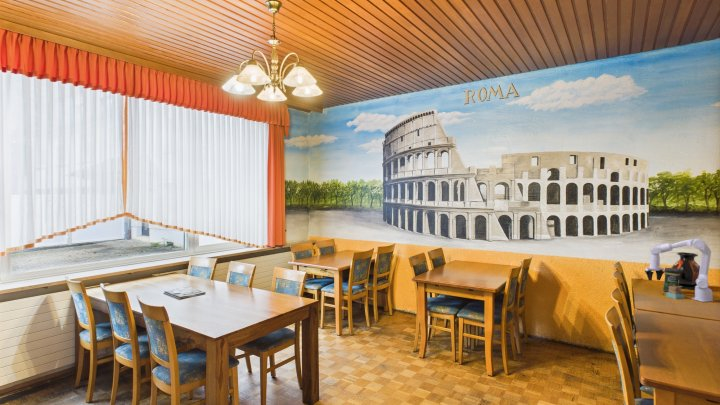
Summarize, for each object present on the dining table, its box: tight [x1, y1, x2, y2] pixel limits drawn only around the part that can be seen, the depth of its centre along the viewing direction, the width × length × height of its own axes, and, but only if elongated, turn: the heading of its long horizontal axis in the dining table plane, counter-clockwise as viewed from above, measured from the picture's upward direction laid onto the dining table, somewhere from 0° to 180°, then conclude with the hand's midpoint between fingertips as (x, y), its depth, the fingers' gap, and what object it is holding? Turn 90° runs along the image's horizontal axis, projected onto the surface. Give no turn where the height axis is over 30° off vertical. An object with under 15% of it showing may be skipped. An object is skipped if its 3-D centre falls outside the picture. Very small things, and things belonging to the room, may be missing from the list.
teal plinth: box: [665, 291, 685, 300], centre depth 275 cm, size 7×7×3 cm
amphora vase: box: [670, 251, 700, 291], centre depth 305 cm, size 22×22×28 cm
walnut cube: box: [669, 286, 682, 294], centre depth 276 cm, size 5×5×5 cm
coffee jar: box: [662, 267, 680, 292], centre depth 291 cm, size 10×8×19 cm
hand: (654, 280), depth 285 cm, fingers open, 7 cm apart
